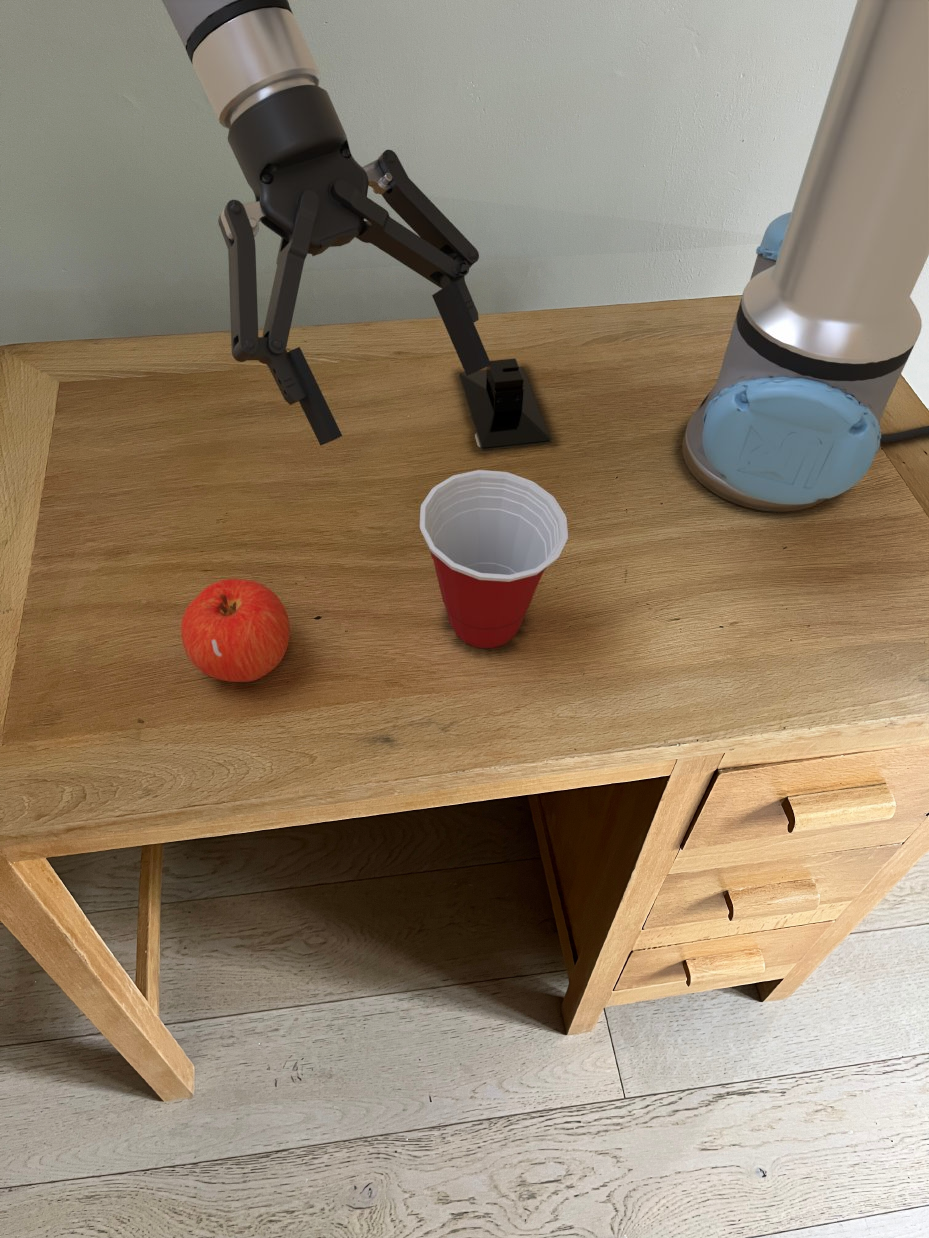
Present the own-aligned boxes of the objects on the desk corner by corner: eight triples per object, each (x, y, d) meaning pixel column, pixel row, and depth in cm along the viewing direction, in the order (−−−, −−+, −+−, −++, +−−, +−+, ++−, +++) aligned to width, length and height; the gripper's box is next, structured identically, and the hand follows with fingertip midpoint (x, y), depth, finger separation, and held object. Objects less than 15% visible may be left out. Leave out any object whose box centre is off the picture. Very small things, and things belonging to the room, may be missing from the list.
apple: (279, 708, 65) (261, 645, 59) (178, 691, 66) (149, 627, 60) (309, 627, 70) (295, 560, 64) (214, 612, 71) (192, 546, 65)
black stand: (551, 443, 85) (555, 405, 81) (478, 452, 84) (480, 413, 80) (522, 368, 93) (525, 330, 89) (456, 375, 92) (456, 337, 88)
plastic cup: (543, 686, 67) (559, 585, 57) (408, 662, 68) (402, 560, 59) (561, 583, 73) (578, 478, 64) (438, 563, 75) (437, 457, 65)
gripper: (399, 93, 66) (508, 355, 72) (93, 183, 56) (247, 480, 62) (444, 39, 60) (560, 332, 65) (106, 130, 50) (277, 467, 55)
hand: (408, 404), depth 64 cm, fingers open, 13 cm apart
